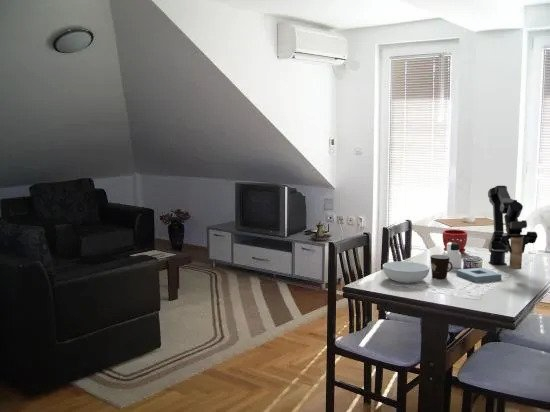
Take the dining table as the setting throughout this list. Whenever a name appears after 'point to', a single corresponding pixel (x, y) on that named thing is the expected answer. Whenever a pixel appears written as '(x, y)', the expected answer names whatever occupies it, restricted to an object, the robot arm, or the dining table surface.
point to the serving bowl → (406, 271)
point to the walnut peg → (516, 253)
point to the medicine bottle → (453, 255)
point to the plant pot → (455, 238)
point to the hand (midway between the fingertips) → (516, 252)
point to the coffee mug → (440, 266)
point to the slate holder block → (479, 274)
